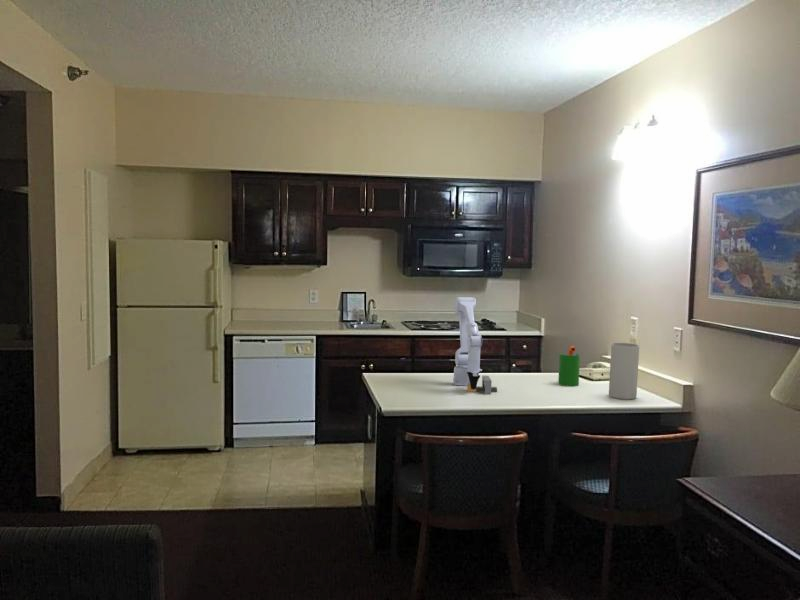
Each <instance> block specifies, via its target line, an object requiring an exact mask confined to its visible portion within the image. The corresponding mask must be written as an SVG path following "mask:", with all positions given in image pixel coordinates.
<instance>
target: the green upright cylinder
mask: <svg viewBox="0 0 800 600" xmlns="http://www.w3.org/2000/svg"><path fill="white" fill-rule="evenodd" d="M574 352H576V346H569V347H568V354H562V353H558V354H559V356H558V358H559V360H558V378H557V379H558V381H557V382H558V385H560V386H565V387H579V385H580V361H581V354H579V353H575V354H574Z"/></svg>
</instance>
